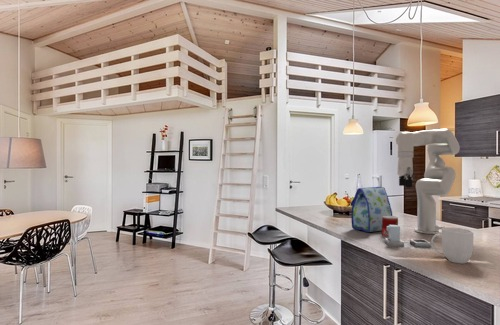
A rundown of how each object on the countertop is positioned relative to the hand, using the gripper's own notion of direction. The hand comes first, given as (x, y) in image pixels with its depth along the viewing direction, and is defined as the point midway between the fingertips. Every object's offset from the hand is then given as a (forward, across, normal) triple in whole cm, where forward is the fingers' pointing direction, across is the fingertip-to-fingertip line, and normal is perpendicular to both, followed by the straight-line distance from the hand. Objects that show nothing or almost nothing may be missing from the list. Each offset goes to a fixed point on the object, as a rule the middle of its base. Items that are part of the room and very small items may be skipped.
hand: (405, 186), depth 163 cm
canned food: (+28, -3, -7) cm, 30 cm away
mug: (+28, +36, +7) cm, 46 cm away
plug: (+27, +17, -11) cm, 34 cm away
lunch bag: (+29, -20, -13) cm, 37 cm away
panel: (+28, +17, -5) cm, 33 cm away
